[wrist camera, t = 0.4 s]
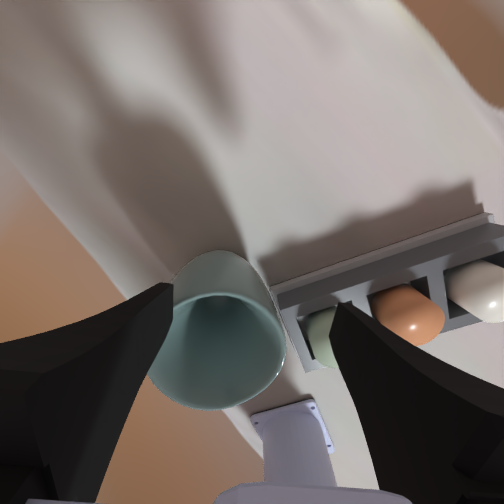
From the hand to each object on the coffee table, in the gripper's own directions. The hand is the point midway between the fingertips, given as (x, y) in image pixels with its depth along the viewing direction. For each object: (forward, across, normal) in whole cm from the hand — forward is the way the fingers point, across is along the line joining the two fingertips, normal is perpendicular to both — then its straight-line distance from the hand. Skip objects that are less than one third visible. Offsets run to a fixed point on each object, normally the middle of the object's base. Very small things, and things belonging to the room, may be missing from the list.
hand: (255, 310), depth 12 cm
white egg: (+8, -18, 0) cm, 20 cm away
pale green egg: (+8, -7, +6) cm, 12 cm away
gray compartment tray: (+10, -13, +3) cm, 17 cm away
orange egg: (+8, -13, +3) cm, 15 cm away
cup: (+10, +3, +4) cm, 11 cm away
